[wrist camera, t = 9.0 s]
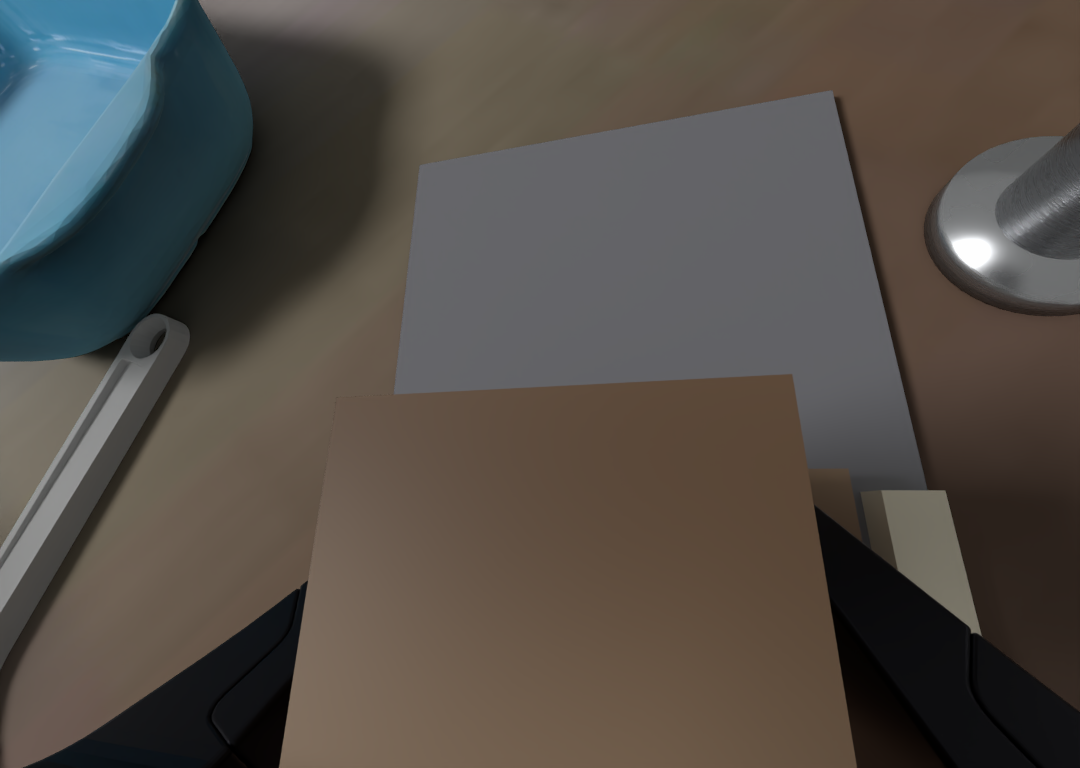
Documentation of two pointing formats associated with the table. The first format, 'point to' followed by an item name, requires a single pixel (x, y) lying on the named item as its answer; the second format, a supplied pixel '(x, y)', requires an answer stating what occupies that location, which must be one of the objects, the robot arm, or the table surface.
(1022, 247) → the grey metal stick
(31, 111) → the casserole dish
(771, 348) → the mat
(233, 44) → the table surface
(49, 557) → the adjustable wrench
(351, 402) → the wooden block on base
